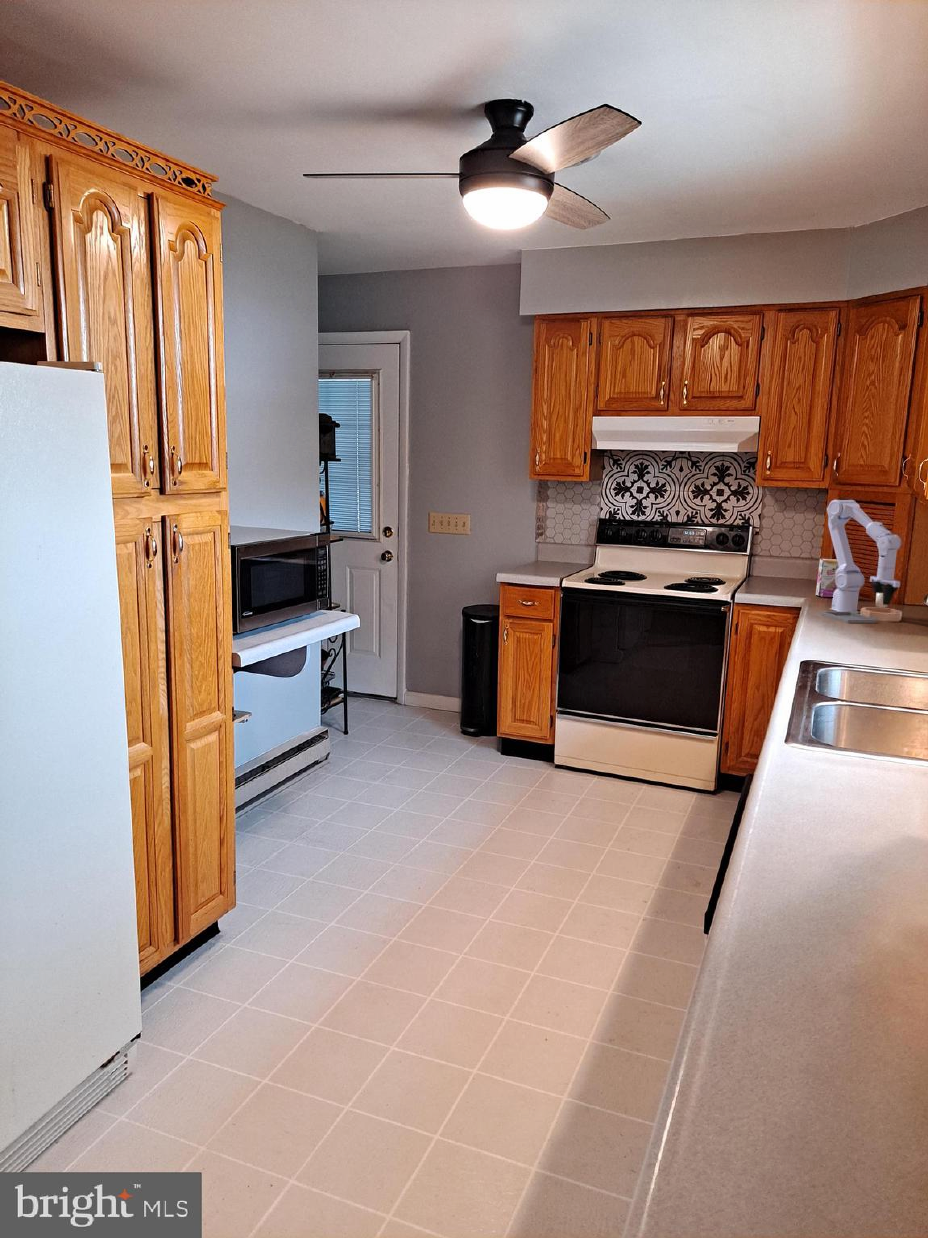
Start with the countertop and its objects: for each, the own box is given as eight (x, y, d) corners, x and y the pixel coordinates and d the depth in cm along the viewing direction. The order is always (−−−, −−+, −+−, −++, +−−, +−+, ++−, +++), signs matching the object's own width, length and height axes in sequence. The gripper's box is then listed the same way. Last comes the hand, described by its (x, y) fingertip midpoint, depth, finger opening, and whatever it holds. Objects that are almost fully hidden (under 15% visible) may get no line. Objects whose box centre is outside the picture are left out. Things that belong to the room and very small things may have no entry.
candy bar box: (818, 597, 381) (822, 559, 378) (815, 595, 386) (819, 558, 383) (845, 598, 380) (849, 560, 377) (841, 597, 385) (845, 559, 382)
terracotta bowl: (853, 616, 338) (854, 607, 337) (884, 615, 340) (885, 606, 340) (875, 623, 325) (876, 613, 324) (908, 622, 328) (909, 613, 327)
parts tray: (821, 616, 336) (821, 611, 335) (849, 616, 338) (850, 611, 338) (847, 624, 320) (847, 619, 320) (876, 624, 322) (877, 619, 322)
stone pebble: (873, 605, 333) (873, 592, 332) (882, 605, 334) (883, 592, 333) (880, 607, 329) (880, 594, 328) (889, 606, 330) (890, 593, 329)
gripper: (864, 564, 335) (860, 600, 338) (889, 570, 321) (885, 606, 324) (881, 564, 337) (877, 600, 339) (906, 570, 323) (902, 606, 325)
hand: (882, 603), depth 332 cm, fingers closed on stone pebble, 4 cm apart
